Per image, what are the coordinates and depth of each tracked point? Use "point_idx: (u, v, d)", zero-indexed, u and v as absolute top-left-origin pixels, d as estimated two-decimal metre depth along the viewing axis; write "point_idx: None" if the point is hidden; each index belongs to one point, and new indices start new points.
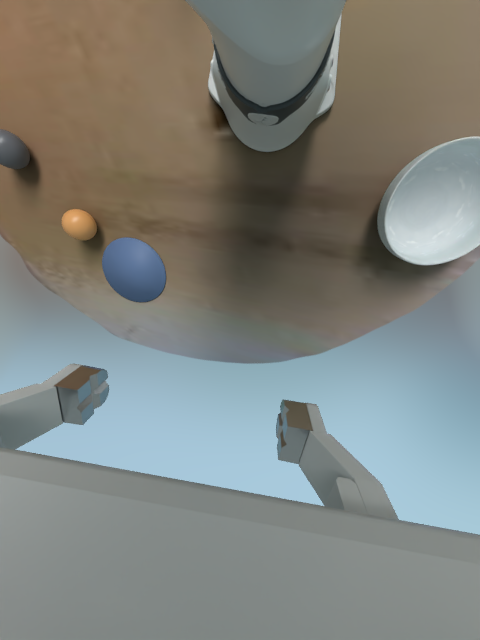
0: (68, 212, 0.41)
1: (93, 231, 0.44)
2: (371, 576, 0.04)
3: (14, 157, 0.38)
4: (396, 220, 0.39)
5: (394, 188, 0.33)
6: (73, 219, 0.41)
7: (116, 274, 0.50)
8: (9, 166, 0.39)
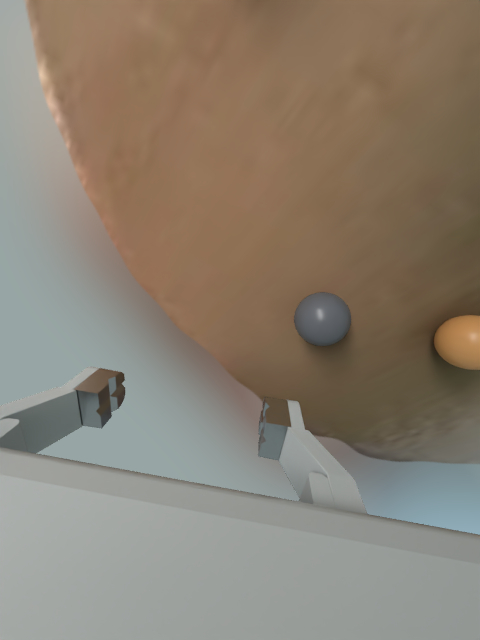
0: (468, 335, 0.21)
1: None
2: (371, 576, 0.04)
3: (350, 320, 0.22)
4: None
5: None
6: None
7: None
8: None
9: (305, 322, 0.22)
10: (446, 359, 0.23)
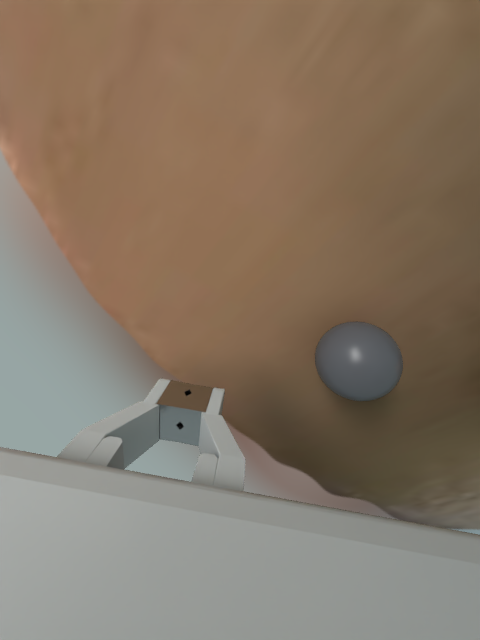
0: None
1: None
2: (371, 576, 0.04)
3: (402, 366, 0.15)
4: None
5: None
6: None
7: None
8: None
9: (335, 369, 0.15)
10: None
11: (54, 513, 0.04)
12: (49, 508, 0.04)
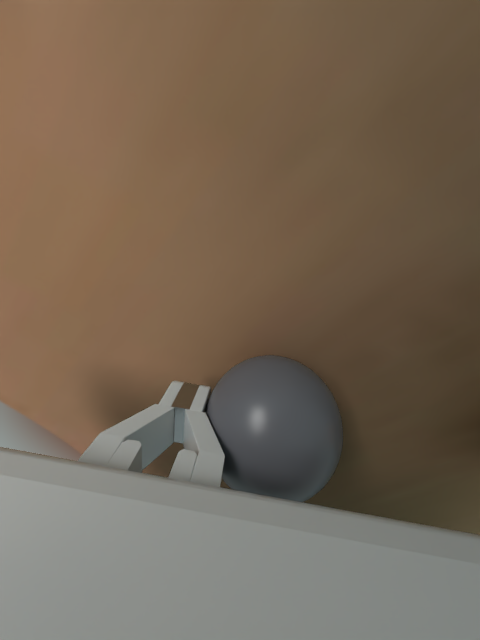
0: None
1: None
2: (371, 576, 0.04)
3: (342, 436, 0.08)
4: None
5: None
6: None
7: None
8: None
9: None
10: None
11: (54, 513, 0.04)
12: (49, 508, 0.04)
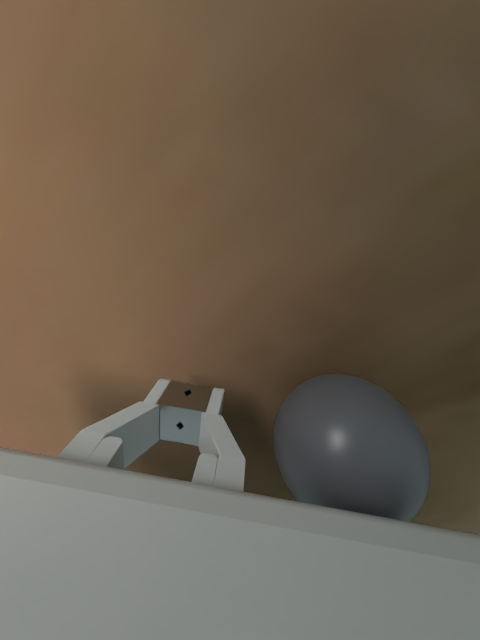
0: None
1: None
2: (371, 576, 0.04)
3: None
4: None
5: None
6: None
7: None
8: None
9: None
10: None
11: (54, 513, 0.04)
12: (49, 508, 0.04)
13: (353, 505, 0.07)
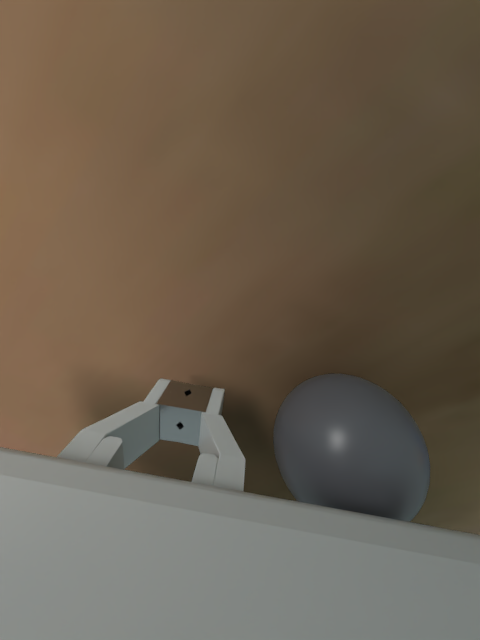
0: None
1: None
2: (371, 576, 0.04)
3: None
4: None
5: None
6: None
7: None
8: None
9: None
10: None
11: (54, 513, 0.04)
12: (49, 508, 0.04)
13: (353, 505, 0.07)
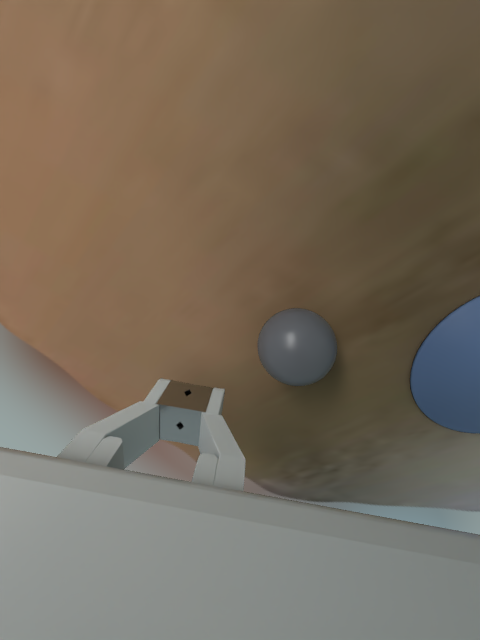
0: None
1: None
2: (371, 576, 0.04)
3: None
4: None
5: None
6: None
7: (457, 399, 0.20)
8: None
9: None
10: None
11: (54, 513, 0.04)
12: (49, 508, 0.04)
13: (293, 358, 0.14)
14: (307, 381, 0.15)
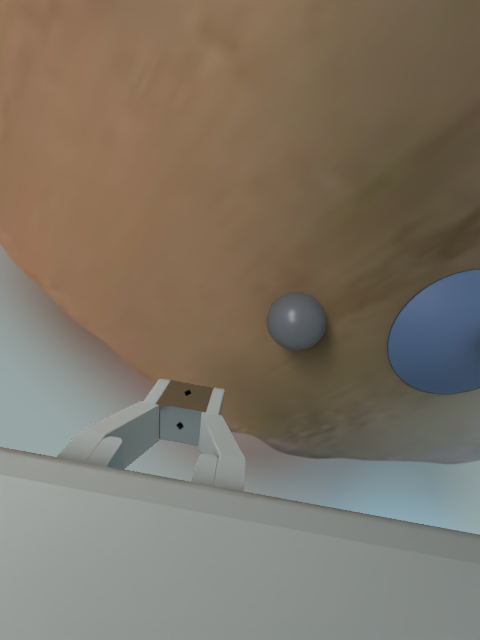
0: None
1: None
2: (371, 576, 0.04)
3: None
4: None
5: None
6: None
7: (426, 365, 0.25)
8: None
9: None
10: None
11: (54, 513, 0.04)
12: (49, 508, 0.04)
13: (293, 326, 0.19)
14: (304, 344, 0.20)
